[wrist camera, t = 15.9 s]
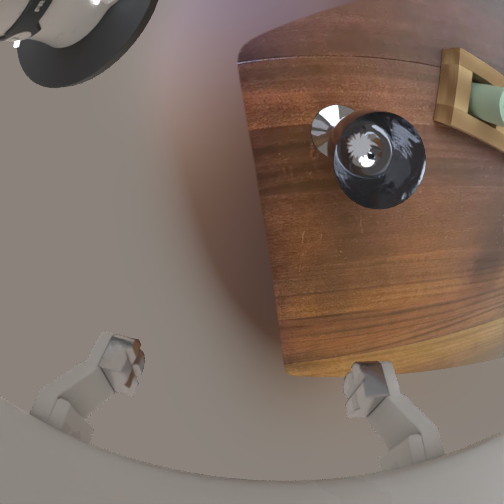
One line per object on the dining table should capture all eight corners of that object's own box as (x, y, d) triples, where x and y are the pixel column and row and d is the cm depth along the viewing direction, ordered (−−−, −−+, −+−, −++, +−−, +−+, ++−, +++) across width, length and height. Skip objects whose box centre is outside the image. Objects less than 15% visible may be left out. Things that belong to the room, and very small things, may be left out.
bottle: (456, 76, 24) (530, 86, 12) (480, 89, 24) (551, 107, 12) (451, 108, 27) (524, 131, 15) (476, 120, 27) (545, 148, 15)
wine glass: (378, 121, 30) (440, 147, 17) (350, 172, 34) (393, 224, 21) (324, 90, 29) (363, 91, 16) (296, 144, 33) (314, 182, 20)
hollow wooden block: (442, 49, 23) (460, 47, 19) (523, 101, 23) (540, 106, 19) (433, 119, 29) (450, 125, 25) (513, 158, 29) (529, 167, 25)
